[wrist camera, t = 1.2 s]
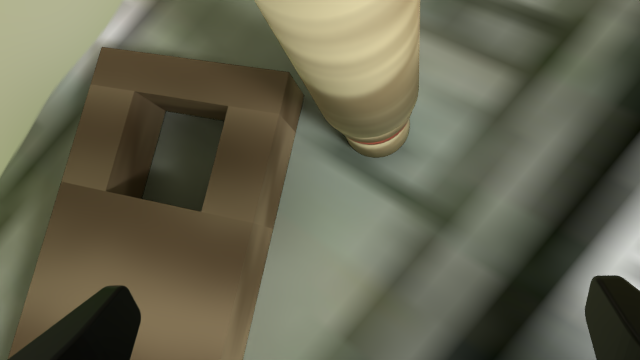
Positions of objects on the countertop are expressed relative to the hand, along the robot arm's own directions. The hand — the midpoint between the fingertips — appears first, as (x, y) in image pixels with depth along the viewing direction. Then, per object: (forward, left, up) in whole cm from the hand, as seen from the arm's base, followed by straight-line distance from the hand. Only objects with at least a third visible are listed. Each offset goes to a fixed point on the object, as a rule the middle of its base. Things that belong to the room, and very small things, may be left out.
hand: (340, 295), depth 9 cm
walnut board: (-4, +11, -13) cm, 17 cm away
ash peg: (+7, +2, -13) cm, 15 cm away
